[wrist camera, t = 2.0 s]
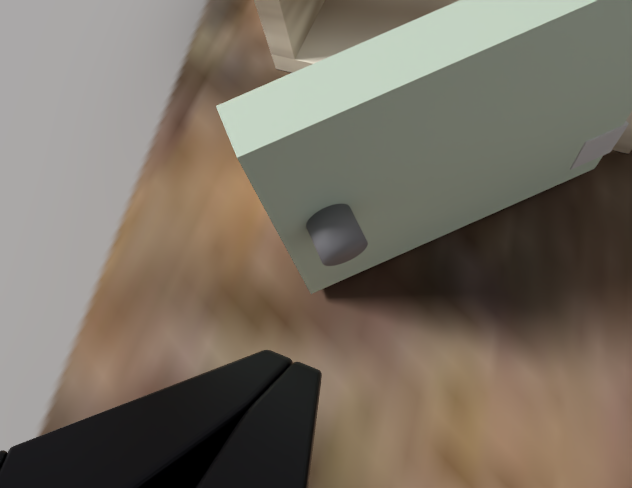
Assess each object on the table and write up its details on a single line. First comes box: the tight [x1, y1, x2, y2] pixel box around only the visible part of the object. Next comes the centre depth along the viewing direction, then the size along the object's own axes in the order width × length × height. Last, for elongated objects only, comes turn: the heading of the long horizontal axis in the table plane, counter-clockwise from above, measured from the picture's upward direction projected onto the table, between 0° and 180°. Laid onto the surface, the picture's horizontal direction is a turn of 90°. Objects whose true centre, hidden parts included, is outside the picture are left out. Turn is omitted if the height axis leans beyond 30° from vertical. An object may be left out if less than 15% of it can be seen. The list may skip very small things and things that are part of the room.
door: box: [216, 0, 632, 294], centre depth 16 cm, size 3×12×10 cm, turn 112°
